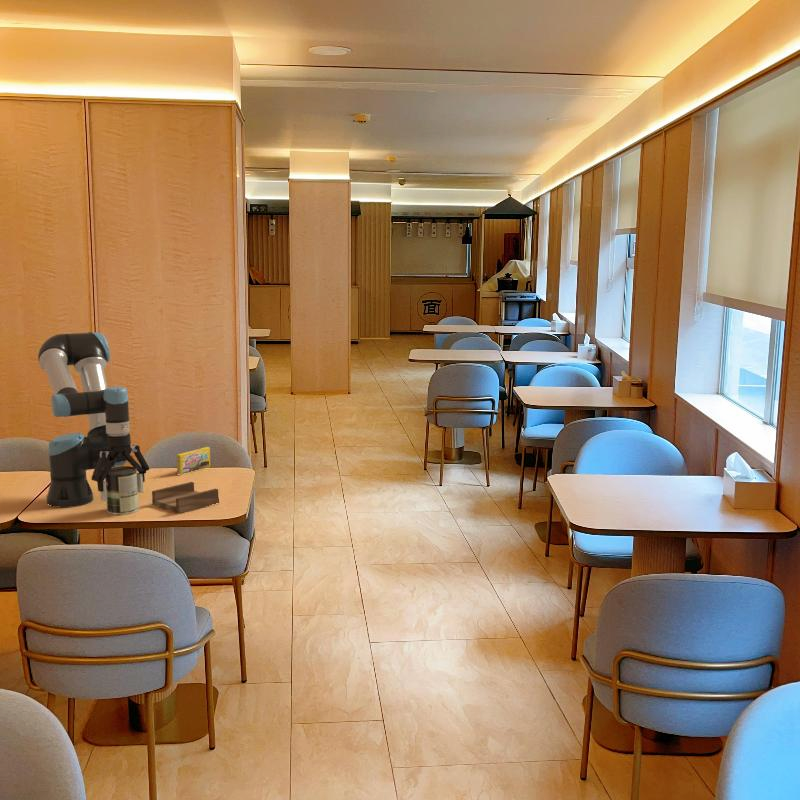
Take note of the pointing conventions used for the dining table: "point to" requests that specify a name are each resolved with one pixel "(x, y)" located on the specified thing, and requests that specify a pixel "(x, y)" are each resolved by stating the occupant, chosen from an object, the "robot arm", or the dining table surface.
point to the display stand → (183, 498)
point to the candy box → (193, 460)
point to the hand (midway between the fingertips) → (122, 496)
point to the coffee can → (122, 490)
